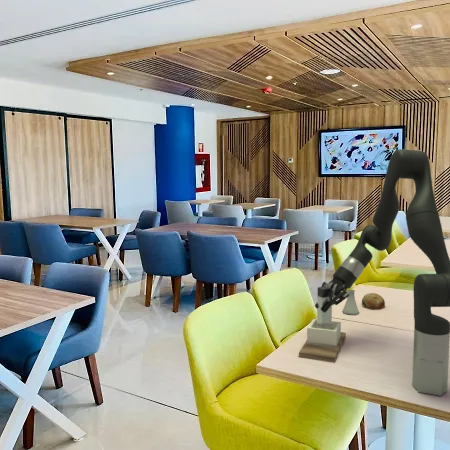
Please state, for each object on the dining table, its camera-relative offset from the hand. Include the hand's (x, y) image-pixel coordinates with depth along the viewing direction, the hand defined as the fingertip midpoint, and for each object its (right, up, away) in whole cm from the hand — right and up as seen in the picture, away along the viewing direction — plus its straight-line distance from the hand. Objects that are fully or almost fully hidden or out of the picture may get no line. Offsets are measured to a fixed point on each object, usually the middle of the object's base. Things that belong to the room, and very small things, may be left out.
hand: (319, 309), depth 159 cm
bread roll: (+34, -7, +46) cm, 57 cm away
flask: (+21, -9, +37) cm, 44 cm away
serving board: (+2, -13, +1) cm, 14 cm away
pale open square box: (+2, -12, +2) cm, 12 cm away
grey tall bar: (+2, -6, +2) cm, 7 cm away
